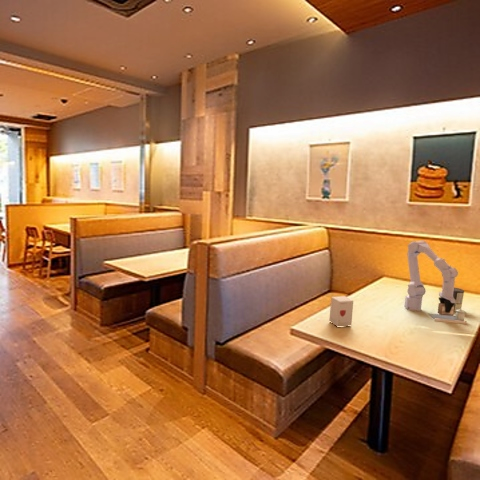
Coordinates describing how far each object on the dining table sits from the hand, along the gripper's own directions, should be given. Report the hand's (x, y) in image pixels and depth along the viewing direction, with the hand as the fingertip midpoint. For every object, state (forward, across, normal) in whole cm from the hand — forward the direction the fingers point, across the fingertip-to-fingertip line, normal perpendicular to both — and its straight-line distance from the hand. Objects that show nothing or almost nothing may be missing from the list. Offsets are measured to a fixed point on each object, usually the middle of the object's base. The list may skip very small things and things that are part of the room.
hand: (445, 311), depth 212 cm
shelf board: (+6, -2, +2) cm, 6 cm away
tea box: (+2, 0, 0) cm, 2 cm away
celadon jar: (+5, +2, +8) cm, 9 cm away
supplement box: (+6, +14, -63) cm, 65 cm away
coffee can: (+6, -19, +14) cm, 24 cm away
